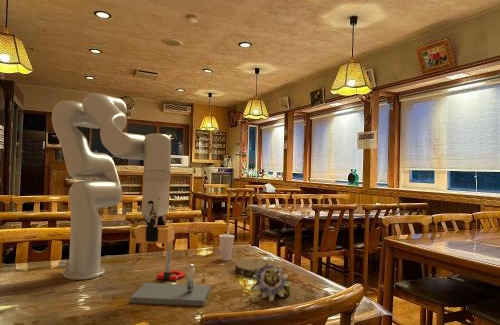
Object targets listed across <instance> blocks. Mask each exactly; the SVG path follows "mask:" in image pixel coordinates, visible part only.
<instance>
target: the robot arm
mask: <svg viewBox="0 0 500 325" xmlns="http://www.w3.org/2000/svg"><path fill="white" fill-rule="evenodd" d="M127 108H128V107H127V104H126V102H125V101H124V100H123V99H121V98H119V97H117V96H111V95H108V94H103V93H95V92H94V93H89V94H87V95H86V96H84V97H83V99H82V101H81V102H80V101H75V100H61V101H59V102H57V103H56V104H55V105H54V107H53V109H52V113H51V124H52V128H53V130H54V132H55V136H56V137H57V139H58V141H59V143H60V146H61V150H62V155H63V159H64V163H65V167H66V169H67V170H66V171H67V172H68V175H69V177H71V178H73V179H74V180H75V179H77V180H79V181H76V182H74V183H73V184H72V185H71V186H70V187H69V190H68V201H69V207H70V234H69V235H70V237H69V260H68V261H67V260H59V261H58V263H57V264H58V265H57V268H59V269H65V270H64V271H63V277H64V278H65V279H67V280H71V281H72V280H76V281H77V280H78V281H79V280H81V281H82V280H83V281H84V280H90V279H95V278H99V277H101V276H103V275H104V274H105V272H106V270H105V268H104V267H102V266H101V256H102V255H101V253H102V228H103V225H102V224H103V221H102V217H101V216H100V214H99V212H98V210H97V209H99V208H109V207H115V206H117V205H119V204H120V202H121V201H122V199H123V198H122V197H123V188H122V185H121V181H120V177H119V174H118V171H117V167H116V165H115V161H114V160H113V158H112V157H111V156H110V155H109V154H107V153H104V152H94V151H92V150H91V149H90V146H89V141H88V140H87V137H86V136H85V135H84V134H83V132H82V131H81V130H79V128H78V127H80V128H81V127H82V128H87V129H88V128H89V129H100V131H99V136H100V141H101V144H102V145H103V146H104V147H105V149H107V151H109V153H110V154H112V155H113V156H115V157H116V158H118V159H123V160H125V159H126V160H139V161H140V160H141V161H143V182H144V184H143V188H142V189H143V190H142V191H143V192H142V202H141V216H142V217H143V218H144V219H145V221H144V222H145V225H146V242H157V241H158V227H157V225H166V224H167V223H166V222H167V218H166V217H167V214H168V210H169V185H168V183H169V182H170V183H171V167H172V166H171V163H172V162H171V161H172V160H171V159H172V156H171V155H172V139H171V137H170V135H168V134H165V133H164V134H163V133H148V134H145V135H144V134H138V133H130V132H129V133H128V132H124V131H123V130H125V128H126V127H127V123H128V118H127V113H128V109H127Z"/></svg>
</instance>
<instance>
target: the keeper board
mask: <svg viewBox="0 0 500 325" xmlns="http://www.w3.org/2000/svg"><path fill="white" fill-rule="evenodd" d="M210 293H211V285H206V284H205V285H203V284H201V285H200V284H194V289H193V291H192V292H188V291H187V284H182V283H180V284H179V283H157V282H145V283H144V284H142V285H141V286H140V287H139V288H138V289H137V290H136V291H135V292H134V293H133V294H132V295H131V296H130V304H131V303H132V304H148V305H149V304H151V305H172V306H175V305H176V306H192V307H193V306H194V307H205V304H206V302H207V299H208V297H209V295H210Z"/></svg>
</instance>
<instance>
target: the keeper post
mask: <svg viewBox="0 0 500 325" xmlns="http://www.w3.org/2000/svg"><path fill="white" fill-rule="evenodd" d="M186 268H187V271H186V272H187V273H186V274H187V275H186V285H187V291H188V292H192V291H193V289H194V285H195V265H194V264H193V263H189V264H187V267H186Z"/></svg>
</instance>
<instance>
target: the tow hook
mask: <svg viewBox="0 0 500 325" xmlns="http://www.w3.org/2000/svg"><path fill="white" fill-rule="evenodd" d="M171 242H172V241H171ZM171 242H169V243H168V244H167V247H166V260H165V262H166V263H165V269H164V271H161V272H159V274H157V276H156V279H157V280H160V281H161V280H164V281H168V282H170V281H174V282H177V281H178V279H182V278H184V277H185V272H183V271H180V270H171V252H172V246H171ZM174 274H175V275H174Z"/></svg>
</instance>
